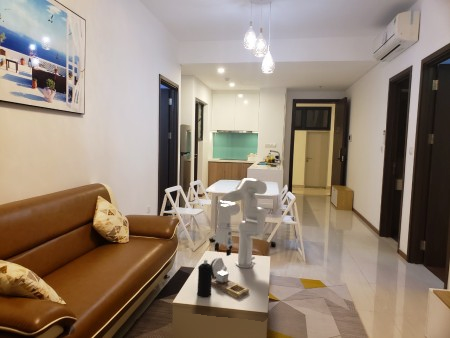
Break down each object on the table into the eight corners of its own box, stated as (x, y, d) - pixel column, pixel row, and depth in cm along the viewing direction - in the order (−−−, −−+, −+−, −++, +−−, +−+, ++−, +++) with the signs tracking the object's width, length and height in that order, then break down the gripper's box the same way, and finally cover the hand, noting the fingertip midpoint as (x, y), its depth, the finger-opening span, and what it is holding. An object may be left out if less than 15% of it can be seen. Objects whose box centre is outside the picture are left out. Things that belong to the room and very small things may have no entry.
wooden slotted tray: (220, 280, 193) (221, 276, 193) (248, 293, 179) (248, 288, 178) (210, 284, 186) (210, 280, 186) (238, 298, 172) (239, 294, 172)
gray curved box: (218, 279, 195) (213, 263, 195) (211, 279, 196) (207, 264, 197) (227, 268, 210) (223, 254, 211) (220, 269, 212) (217, 255, 212)
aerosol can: (212, 297, 173) (214, 262, 170) (198, 298, 170) (200, 263, 168) (209, 289, 180) (211, 257, 178) (195, 291, 178) (197, 257, 176)
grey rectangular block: (221, 282, 190) (222, 270, 189) (227, 285, 187) (228, 273, 186) (216, 285, 186) (216, 272, 185) (222, 288, 183) (222, 275, 182)
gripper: (239, 227, 179) (237, 255, 181) (217, 220, 191) (216, 247, 193) (230, 229, 174) (229, 258, 176) (209, 222, 185) (207, 250, 187)
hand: (222, 252), depth 184 cm, fingers open, 9 cm apart
